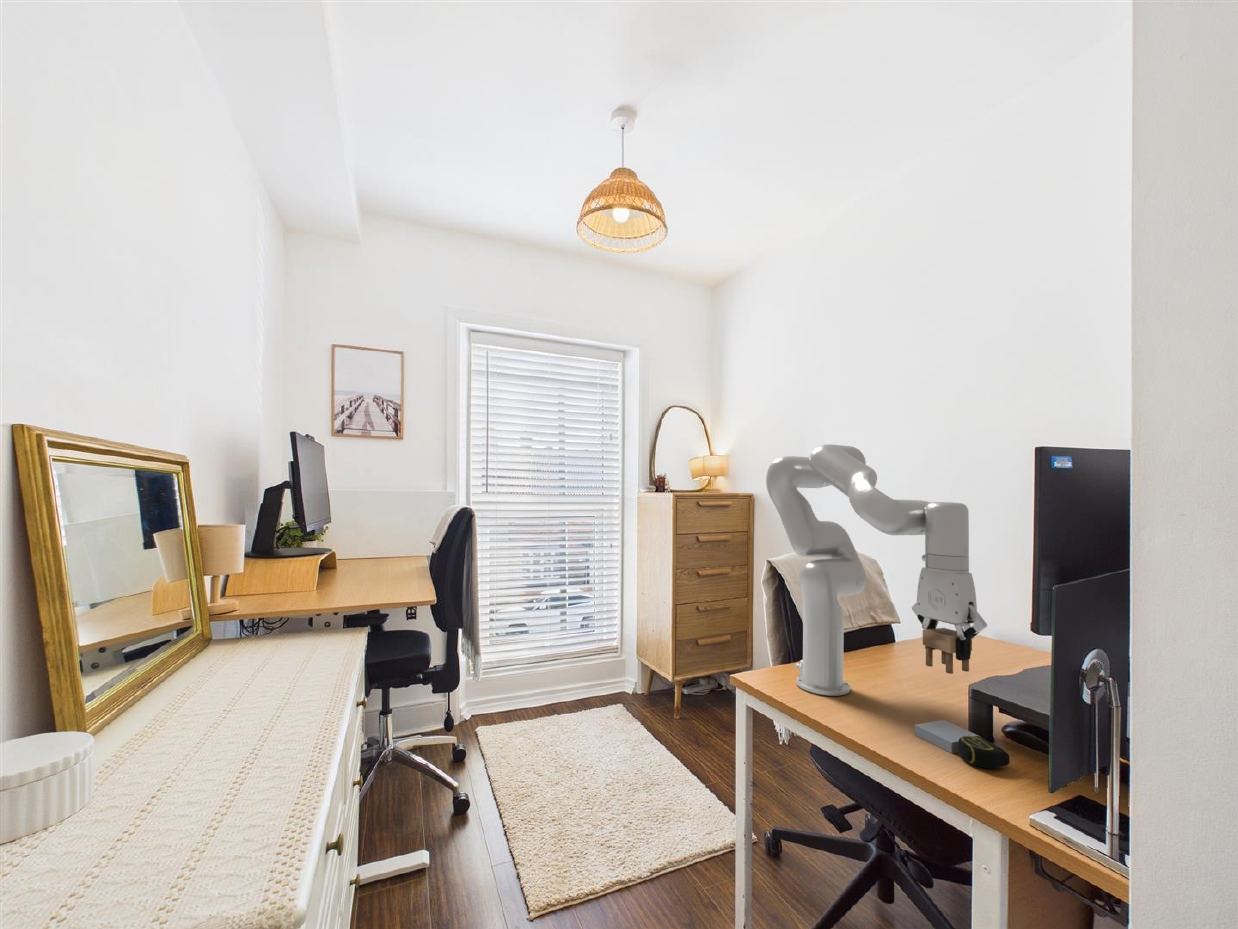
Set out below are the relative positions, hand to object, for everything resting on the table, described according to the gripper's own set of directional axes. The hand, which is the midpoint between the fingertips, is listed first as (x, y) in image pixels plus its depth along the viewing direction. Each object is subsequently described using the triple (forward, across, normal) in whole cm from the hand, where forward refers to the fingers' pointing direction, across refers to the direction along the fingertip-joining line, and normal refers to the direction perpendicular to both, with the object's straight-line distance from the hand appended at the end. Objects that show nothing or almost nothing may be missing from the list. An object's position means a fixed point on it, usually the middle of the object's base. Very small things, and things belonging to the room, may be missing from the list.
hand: (947, 653), depth 107 cm
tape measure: (+18, +8, -1) cm, 19 cm away
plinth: (+17, 0, 0) cm, 17 cm away
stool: (+3, 0, 0) cm, 3 cm away
